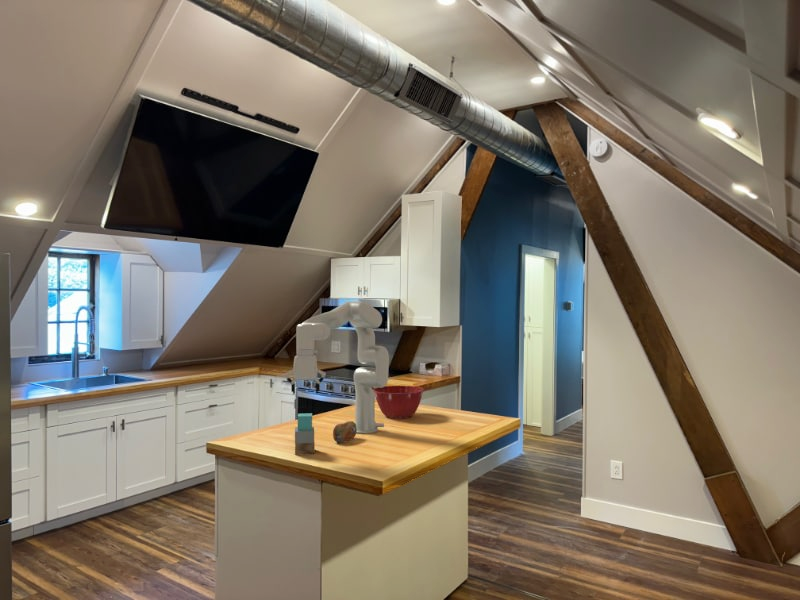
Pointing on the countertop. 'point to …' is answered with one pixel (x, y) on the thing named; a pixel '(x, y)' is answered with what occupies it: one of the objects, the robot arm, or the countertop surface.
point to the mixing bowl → (398, 400)
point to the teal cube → (305, 422)
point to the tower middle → (304, 436)
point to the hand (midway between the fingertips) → (305, 393)
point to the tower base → (304, 448)
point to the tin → (344, 431)
